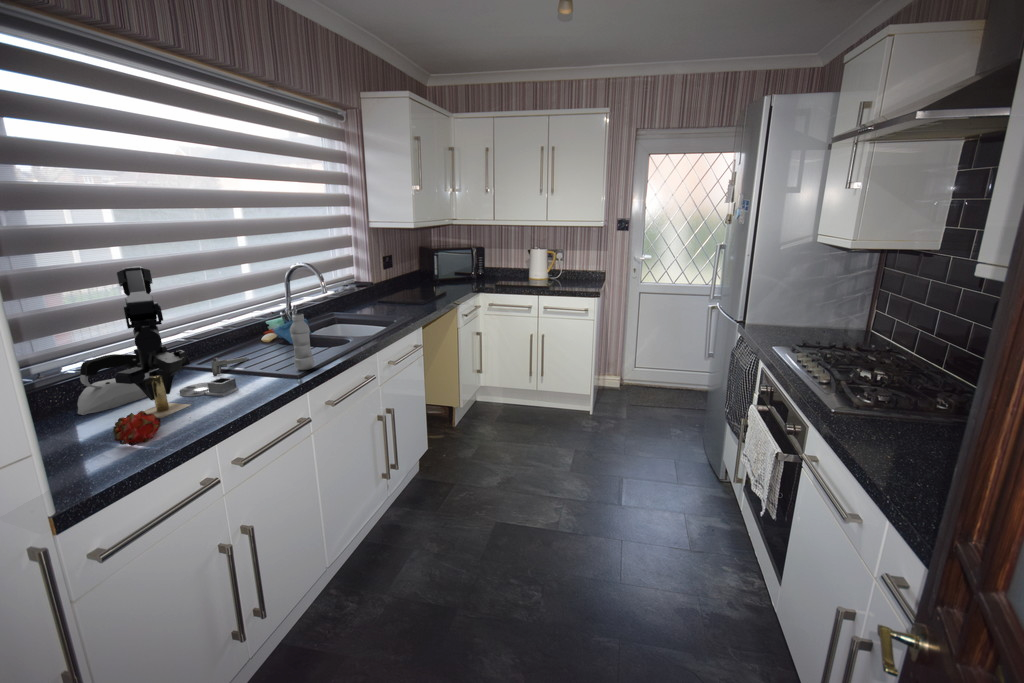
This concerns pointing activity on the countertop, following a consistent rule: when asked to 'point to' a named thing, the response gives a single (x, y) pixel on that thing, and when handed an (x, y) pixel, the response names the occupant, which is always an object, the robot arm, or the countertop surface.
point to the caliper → (224, 364)
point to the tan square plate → (172, 408)
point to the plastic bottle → (301, 343)
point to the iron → (107, 385)
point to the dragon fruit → (136, 428)
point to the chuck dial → (211, 388)
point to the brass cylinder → (160, 394)
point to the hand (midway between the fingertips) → (160, 397)
